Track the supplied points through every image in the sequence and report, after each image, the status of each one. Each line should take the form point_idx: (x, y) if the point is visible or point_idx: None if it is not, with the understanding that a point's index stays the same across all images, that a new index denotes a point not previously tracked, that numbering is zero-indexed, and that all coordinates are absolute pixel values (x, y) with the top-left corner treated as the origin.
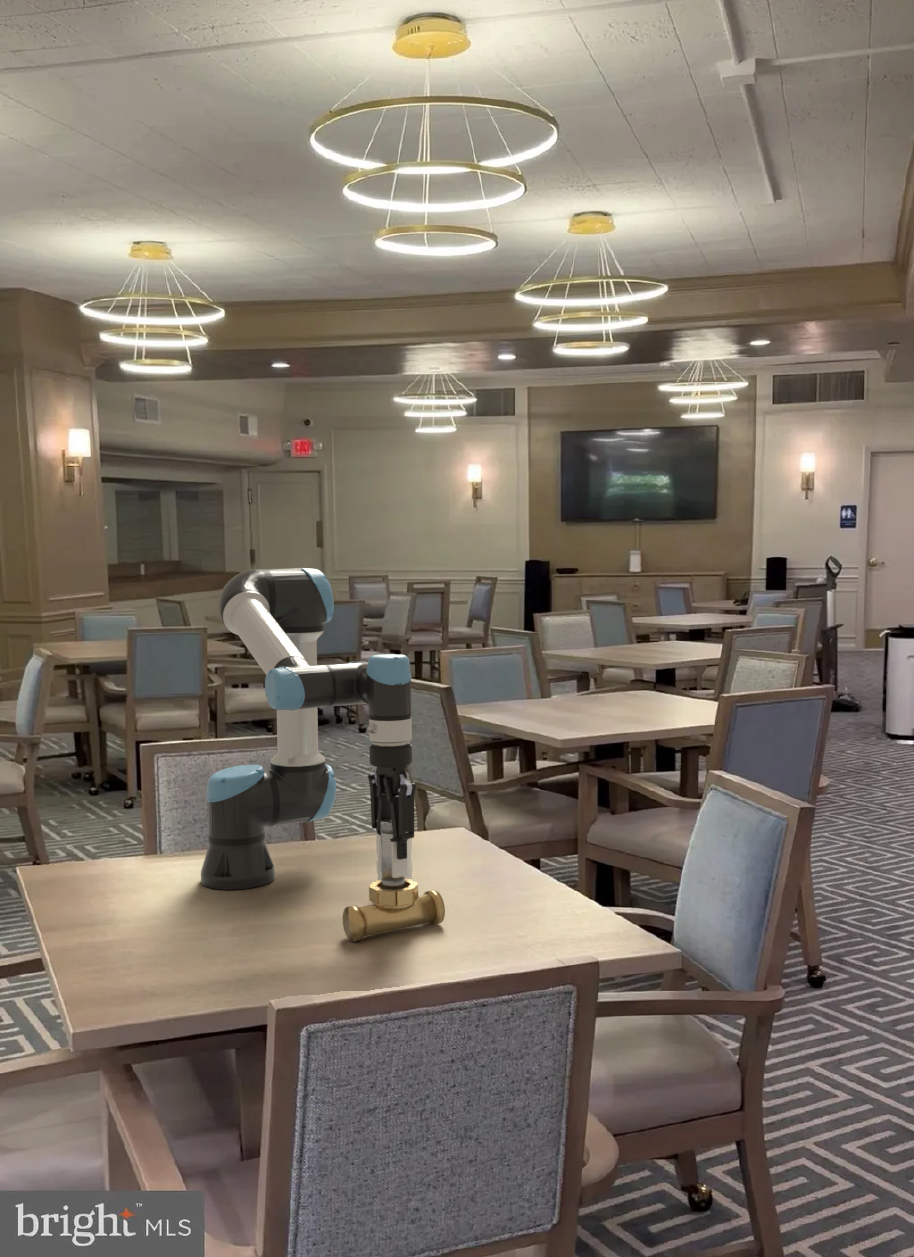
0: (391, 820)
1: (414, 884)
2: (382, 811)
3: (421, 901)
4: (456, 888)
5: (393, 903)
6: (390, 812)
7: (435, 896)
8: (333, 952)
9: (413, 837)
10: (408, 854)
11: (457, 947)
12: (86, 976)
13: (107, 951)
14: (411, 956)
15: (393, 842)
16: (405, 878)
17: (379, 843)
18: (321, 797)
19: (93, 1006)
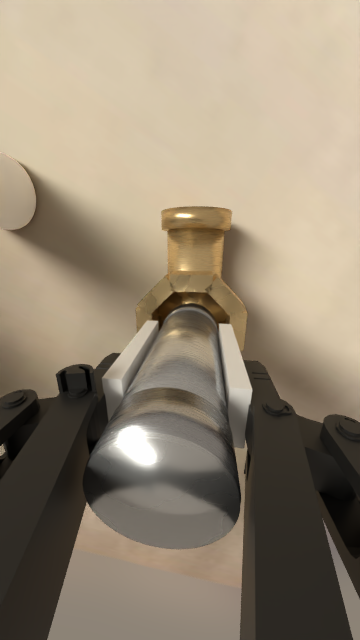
0: (139, 494)
1: (218, 289)
2: (54, 596)
3: (211, 261)
4: (6, 30)
5: None
6: (50, 524)
7: (216, 224)
8: None
9: (351, 419)
10: None
11: (329, 257)
12: (141, 553)
13: (88, 527)
14: (305, 337)
15: (243, 443)
16: (2, 175)
17: None
18: None
19: (209, 571)
